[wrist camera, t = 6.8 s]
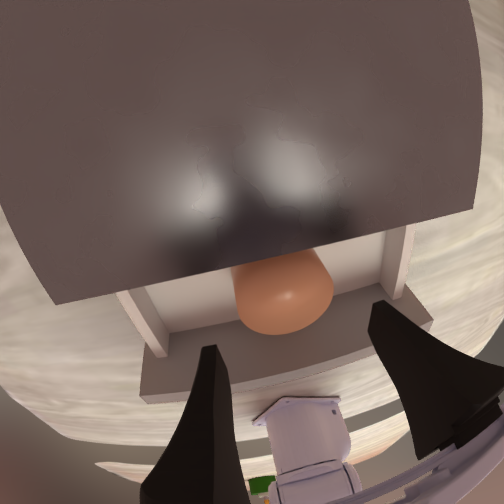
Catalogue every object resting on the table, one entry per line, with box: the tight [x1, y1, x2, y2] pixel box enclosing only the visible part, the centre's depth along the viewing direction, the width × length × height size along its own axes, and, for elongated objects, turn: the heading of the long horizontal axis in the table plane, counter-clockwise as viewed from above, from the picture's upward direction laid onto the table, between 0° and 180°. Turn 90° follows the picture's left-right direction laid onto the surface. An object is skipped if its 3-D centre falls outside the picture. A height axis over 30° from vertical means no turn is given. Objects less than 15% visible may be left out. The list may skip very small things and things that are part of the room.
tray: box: [115, 223, 433, 404], centre depth 14 cm, size 12×20×6 cm, turn 100°
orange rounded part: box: [230, 248, 334, 335], centre depth 15 cm, size 5×5×4 cm
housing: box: [0, 0, 483, 305], centre depth 8 cm, size 14×20×6 cm
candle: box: [248, 476, 276, 504], centre depth 58 cm, size 8×8×10 cm
